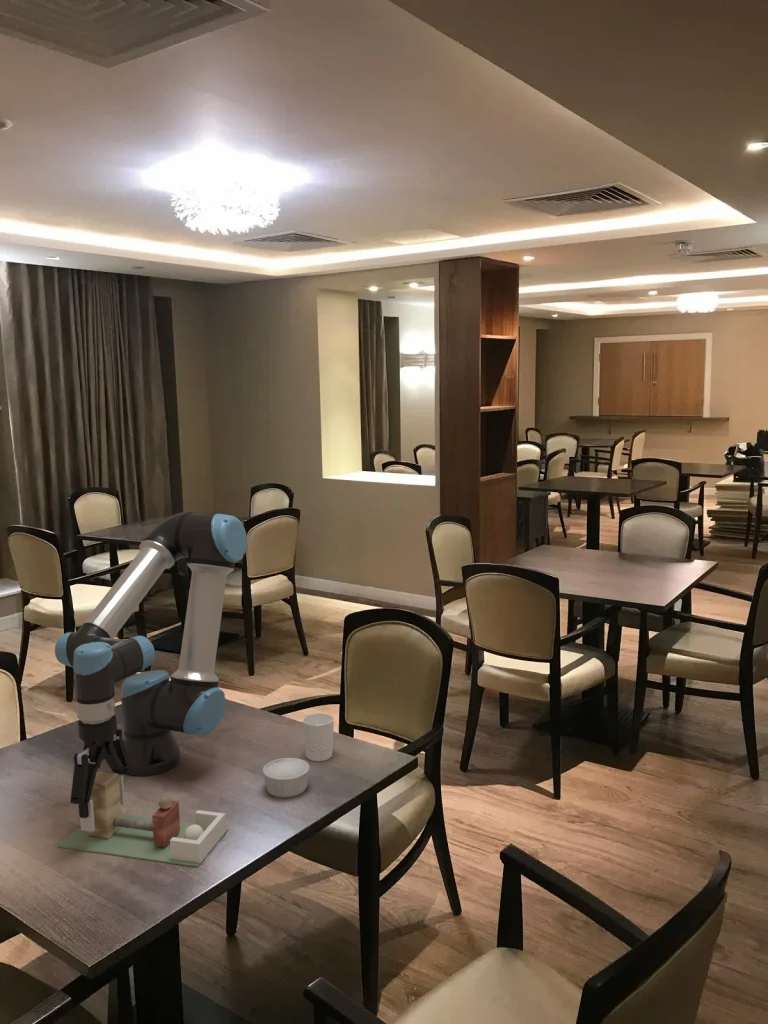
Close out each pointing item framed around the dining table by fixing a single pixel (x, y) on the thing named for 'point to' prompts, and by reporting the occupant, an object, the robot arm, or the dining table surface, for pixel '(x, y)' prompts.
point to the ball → (193, 832)
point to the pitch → (128, 843)
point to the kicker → (111, 821)
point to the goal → (200, 838)
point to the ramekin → (286, 777)
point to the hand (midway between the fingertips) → (103, 816)
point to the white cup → (318, 736)
